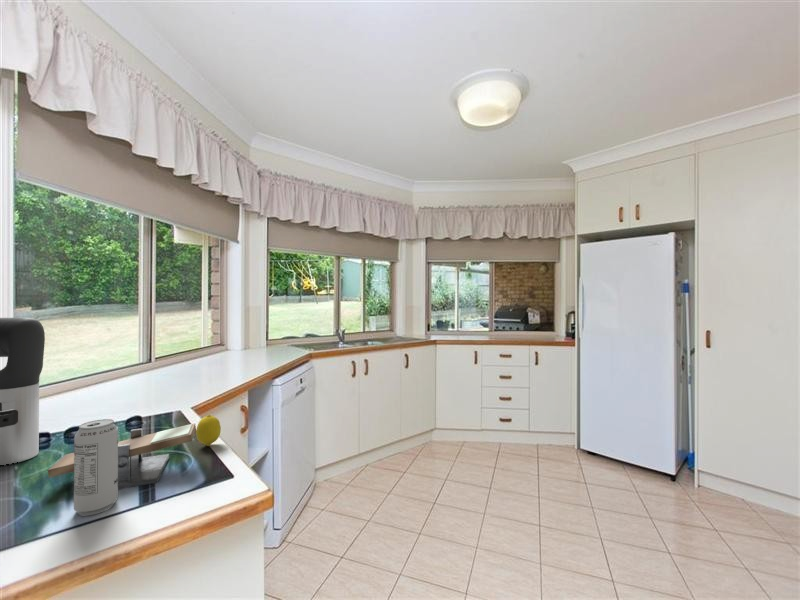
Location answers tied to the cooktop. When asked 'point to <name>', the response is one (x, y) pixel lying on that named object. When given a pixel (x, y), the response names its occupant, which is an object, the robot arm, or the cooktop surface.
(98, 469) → the energy drink can
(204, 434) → the lemon
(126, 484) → the beam stand
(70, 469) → the beam
